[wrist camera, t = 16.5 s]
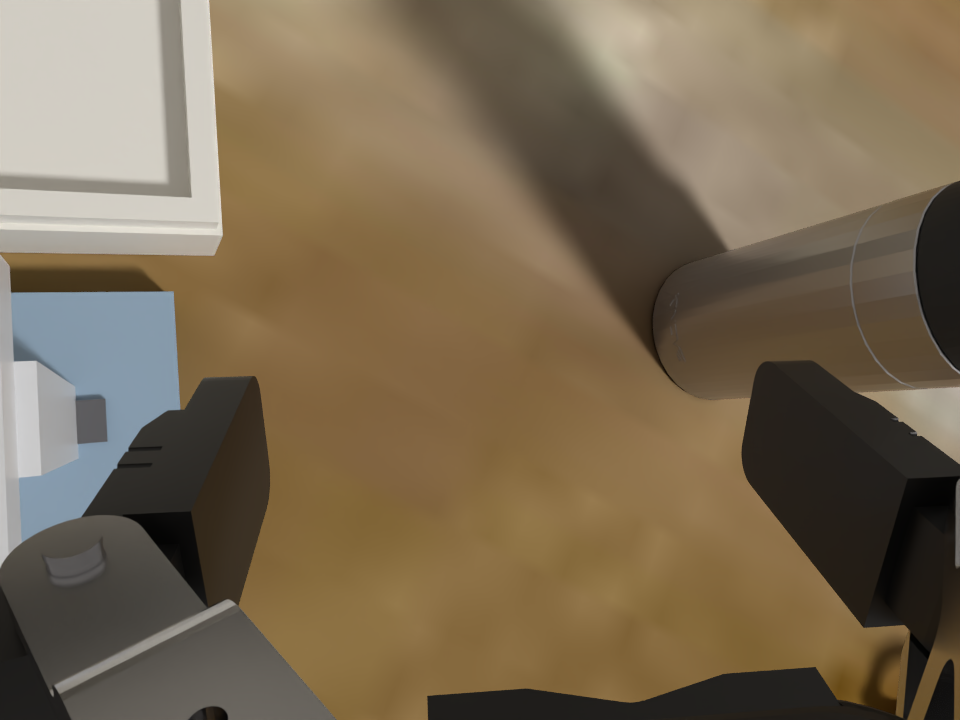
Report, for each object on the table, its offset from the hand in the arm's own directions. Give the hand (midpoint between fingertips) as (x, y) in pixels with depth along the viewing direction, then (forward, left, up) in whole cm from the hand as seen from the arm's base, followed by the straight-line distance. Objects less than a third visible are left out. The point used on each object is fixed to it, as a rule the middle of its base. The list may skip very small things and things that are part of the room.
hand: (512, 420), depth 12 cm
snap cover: (+9, -1, -26) cm, 28 cm away
